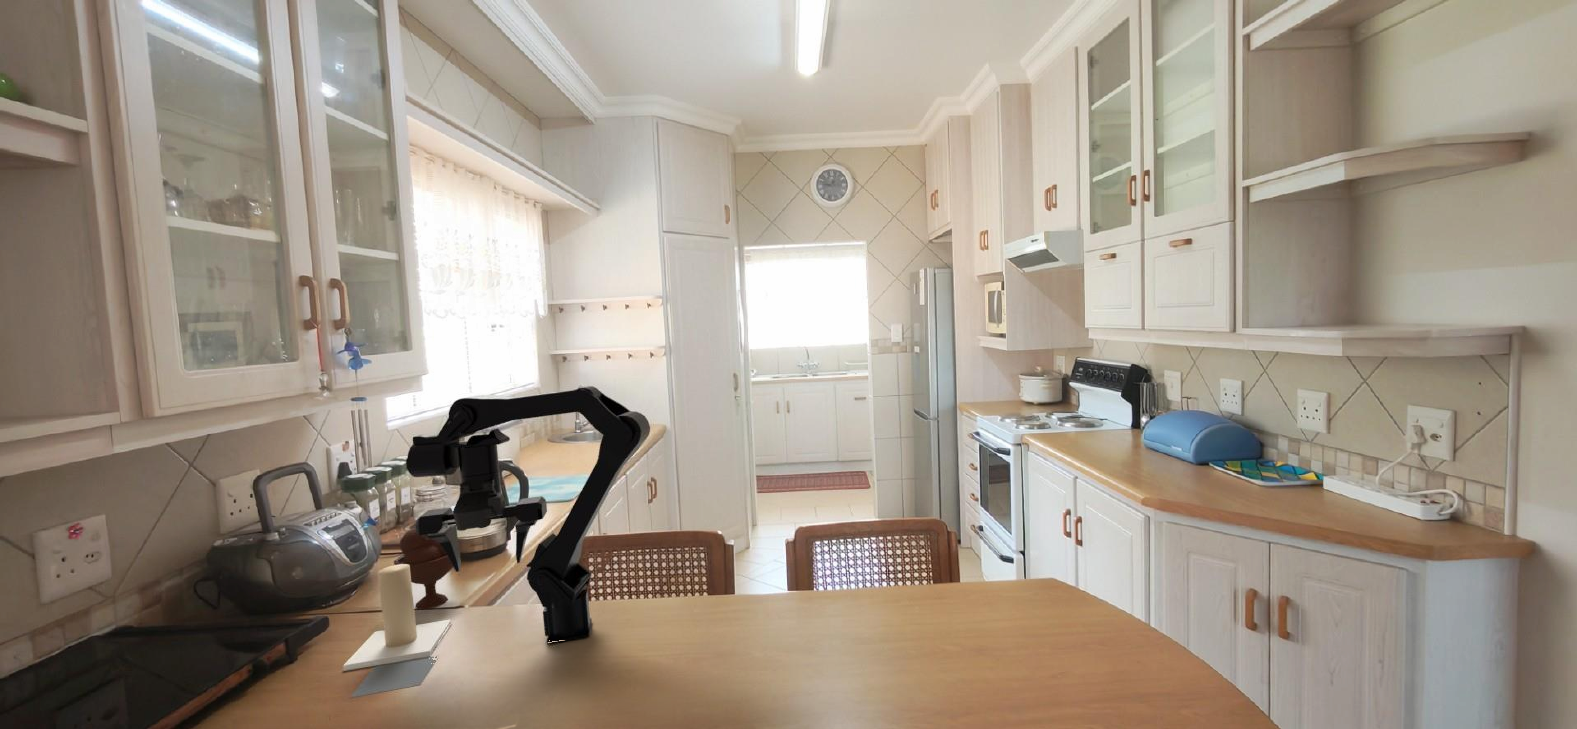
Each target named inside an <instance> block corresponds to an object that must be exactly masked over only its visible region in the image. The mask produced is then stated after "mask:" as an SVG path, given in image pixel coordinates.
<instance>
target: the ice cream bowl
mask: <svg viewBox="0 0 1577 729" xmlns="http://www.w3.org/2000/svg"><path fill="white" fill-rule="evenodd" d="M426 536H427V535H420V536H419V535H417V533H416V527H415V528H411V529H409V530H408V531H406V532H405V533H404V534H403V536H402V537H401V539H400V541H399V544H398V545H399V549H400V551H401V552H402V555H401V556H399V557H398V558H396V559H394V560H393V564H394V565H399V564H408V565H410V574H411V584H412V583H413V584H417V585H423V586H424V589H425V595H424V596H423V597H421V599H419V600H418V601H417V602H416V603H415V605H414V608H416V610H427V609H432V608H436V607H439V606H441V605H443V604H445V603H447V601H448V600H449V599H448V597H447V596H446V594H442V593H438V592H437V590H436V588H437V587H436V584H437V582H439V580H442V579H443V578H444V577H445V576H446V575H447V574H449V573H450V571H451V570H452V569H454V567H453V565H452V563H451V561H450V559H449V557H448V556H447V554H446V552H445V550H444V549H443V548H442V546H441V545H440V544H439V543H438V542H437V541H435V540H434V539H427V537H426Z"/></svg>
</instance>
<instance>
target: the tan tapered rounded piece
mask: <svg viewBox="0 0 1577 729" xmlns="http://www.w3.org/2000/svg"><path fill="white" fill-rule="evenodd" d="M377 574H378V575H377V577H378V585H379V594H380V605H381V614H382V621H383V622H382V623H383V630H384V634H385V643H386V646H387V647H399V646H403V645H406V644H408V643H410V642H412V641H414V640H415V639H416V638H417V632H416V625H417V624H416V615H415V614H416V613H415V604H414V595H413V585H412V582H411V574H410V565H408V564H399V565H390V566H387V567H384V568H381V569H380V570H379V571H378V572H377Z"/></svg>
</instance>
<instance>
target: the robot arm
mask: <svg viewBox="0 0 1577 729" xmlns="http://www.w3.org/2000/svg"><path fill="white" fill-rule="evenodd" d="M571 413H579V414H580V415H581V416H583V417H584V419H586V420H587V421H588V422H589V424H590V425H591V426H592V427H593V428H594V429H595V430H596V431H597V432H599V433H600V434H601V435H602V438H601V441H600V444H599V449H598V455H597V460H596V462H595V465H594V466H593V469H592V470H591V472H590V474H589V475H588V478H587V480H586V481H585V484H584V485H583V487H582V489H581V491H580V492H579V494H578V496H577V498H576V500H575V502H574V503H573V505H572V507H571V509H570V511H569V513H568V514H567V516H566V518H565V521H564V522H563V524H562V526H561V528H560V529H559V531H558V533H557V535H556V534H555V533H553V532H552V533H551V534H550V535H548V536H547V537H546V538H544V539H543V540H541V542H540V543H538V545H537V546H536V549H535V552H534V555H533V557H532V559H531V560H530V561H529V562H528V563H527V564H526V565H525V566H526V567H527V568H529V569H528V571H527V573H526V580H527V581H528V584H529V587H530V588H531V589H532V591H534V592H535V593H536V595H537V597H538V599H539V600H538V601H539V602H540V604H541V606H542V607H543V610H542V618H543V628H544V629H543V630H544V636H545V637H547V639H546V643H547V642H552V641H559V640H568V641H573V640H572V639H574V640H578V639H585V638H589V637H590V636H591V629H592V623H593V620H592V619H593V618H592V617H591V616H590V615H591V613H590V604H589V603H590V602H589V593H588V591H589V590H588V589H587V587H588V586H589V585H590V582H591V578H592V572H590V571H589V570H588V569H587V568H585V566H583V565H582V564H581V563H579V561H580V558H581V555H582V548H583V543H584V539H585V537H586V536H587V533H588V532H589V530H590V529H591V526H592V525H593V522H594V520H595V519H596V517H597V515H598V514H599V511H600V509H601V507H602V506H603V504H604V502H605V500H606V498H607V497H608V495H609V493H610V491H611V489H612V487H613V486H614V484H615V483H616V480H617V478H618V476H619V474H620V472H621V471H622V469H623V468H624V466H626V464H627V463H628V462H629V461H630V459H631V458H632V457H633V456H634V455H635V454H636V453H637V451H638V450H639V448H640V447H641V446H642V445H643V444H644V443H645V441H646V440H647V438H648V437H649V435H650V432H651V426H650V423H649V420H648V419H647V417H646V416H645V415H644V414H642V413H641V412H640V411H639V412H638V411H631V410H630V409H628V407H626V406H625V405H623V404H621V403H620V402H618V401H616V400H614V399H612V398H611V397H609V396H608V395H606V394H605V393H603V392H602V391H600V390H599V389H598V388H597V387H595V386H593V385H592V386H591V385H587V386H583V387H579V388H576V389H568V390H560V391H554V392H546V393H544V392H543V393H539V394H537V393H536V394H531V395H524V396H523V395H522V396H506V395H493V394H492V395H491V394H489V395H488V394H478V395H474V396H467V397H462V398H459V399H456V400H454V401H453V403H452V404H451V406H450V407H449V410H448V418H447V419H446V421H445V423H444V424H443V426H442V427H441V429H440V430H439V433H438V434H435V435H434V434H433V435H432V434H420V435H419V434H418V435H416V436H413V437H412V445H411V446H410V448H409V450H408V452H407V457H406V458H405V465H406V469H407V471H408V473H409V475H410V476H412V477H414V478H426V477H439V476H451V475H453V474H455V473H456V472H457V471H458V469H459V472H460V484H459V495H458V500H457V501H456V504H455V506H454V508H453V509H452V508H451V507H444V508H436V509H435V508H434V509H428V510H427V511H425V512H424V513H423V514H422V515H421V514H420V516H419V517H417V519H416V521H415V522H416V523H415V528H416V533H417V535H419V536H420V535H427V536H426V537H427V539H434V540H435V541H437V542H438V543H439V544H440V545H441V546H442V548H443V549H444V550H445V552H446V554H447V556H448V557H449V559H450V561H451V563H452V565H453V569H454V570H455V572H456V573H459V572H460V571H461V567H462V566H461V553H460V546H459V545H460V544H459V537H458V531H460V532H462V531H466V530H468V529H469V530H470V529H475V528H476V529H477V528H478V529H484V528H487V527H489V526H490V525H491V523H492V520H498V519H507V518H508V519H509V518H515V519H517V520H518V521H517V522H516V523H515V525H514V526H515V527H514V528H515V533H516V534H515V558H516V563H517V564H520V563H521V561H522V558H523V554H524V553H523V552H524V550H525V545H526V541H527V537H528V534H529V531H530V528H531V527H533V526H536V523H537V522H538V521H539V520H542V519H544V518H545V516H546V514H547V512H548V504H547V500H546V498H545V497H543V495H541V496H532V497H526V498H520V499H519V500H518V502H517V503H516V504H512V505H506V503H505V499H504V498H505V497H504V495H503V492H502V486H501V473H500V465H499V455H498V445H501V444H505V443H507V442H509V441H510V440H511V438H510V436H508V435H506V434H505V433H503V432H502V431H501V430H500V429H499V428H495V429H491V430H490V431H489V433H485V434H476V433H478V432H480V431H484V430H486V429H490V428H493V427H497V426H499V425H503V424H505V423H509V422H512V421H519V420H525V419H533V418H534V419H535V418H540V417H541V418H543V417H548V416H549V417H550V416H556V415H564V414H571ZM467 437H469V438H468V439H467V440H466V441H460V439H463V438H467ZM589 635H590V636H589ZM549 640H550V641H549Z"/></svg>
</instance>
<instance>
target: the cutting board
mask: <svg viewBox="0 0 1577 729" xmlns="http://www.w3.org/2000/svg"><path fill="white" fill-rule="evenodd" d="M451 622H452V623H453V620H452V619H451V618H450V619H445V620H439V621H432V622H428V623H420V624H416V632H417V638H416V639H415V640H414V641H412V642H410V643H408V644H406V645H403V646H399V647H387V646H386V643H385V634H384V629H383V630H378V631H374V632H373V633H372V634H371V636H370V637H368V638H367V640H366V641H364V643H363V644H362V645H361V646H360V647H359V648H358V649H357V651H355V652H354V653H353V654H352V655H351V657H350V658H349V659H348V660H347V661H346V662H345V663H344V664H343V671H344V672H345V671H350V670H351V671H352V670H357V669H363V668H368V667H369V668H370V667H376V666H381V665H387V664H393V663H399V662H405V661H411V660H416V659H422V658H428V657H431V656H432V654H433V653H434V651H435V650H436V648H437V647H438V645H439V644H438V642H439V640H440V639H441V637H442V635H443V633H444V632H445V630H446V629H447V627H448V626H449V625H450V624H451ZM439 643H440V642H439ZM437 644H438V645H437ZM436 646H437V647H436ZM435 647H436V648H435ZM434 649H435V650H434ZM433 650H434V651H433ZM432 652H433V653H432ZM430 655H431V656H430ZM415 658H416V659H415Z"/></svg>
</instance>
